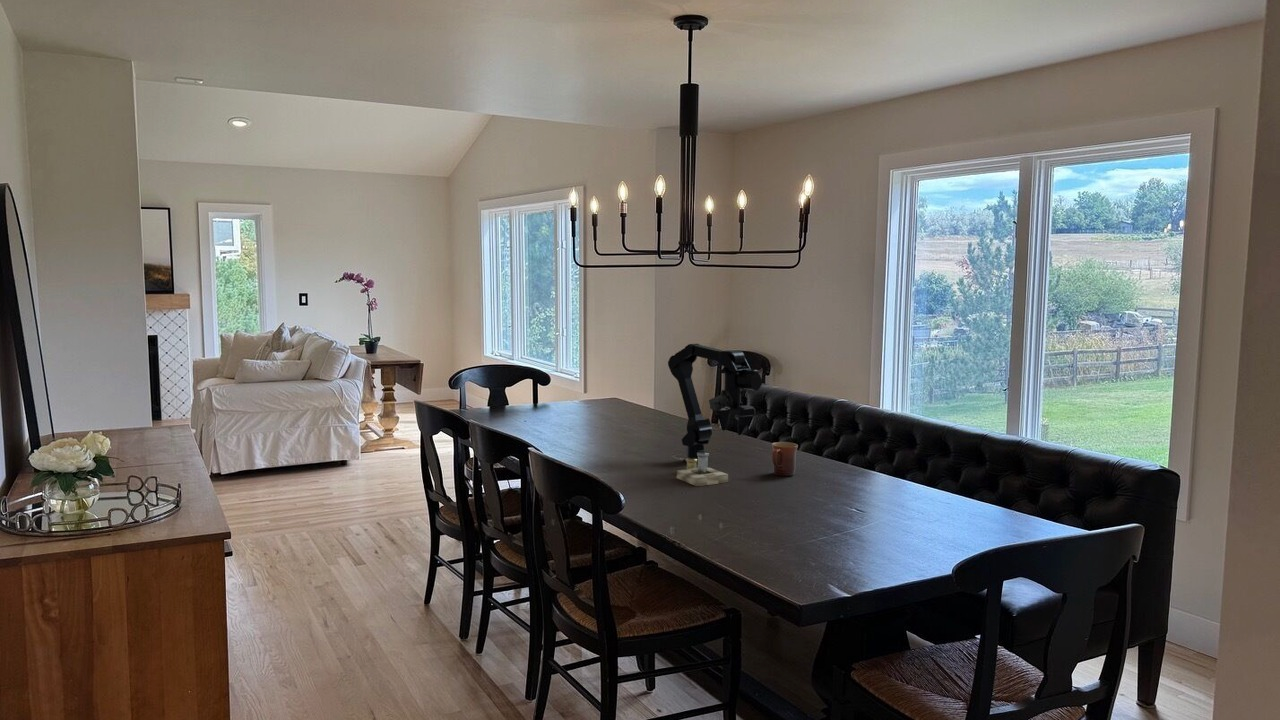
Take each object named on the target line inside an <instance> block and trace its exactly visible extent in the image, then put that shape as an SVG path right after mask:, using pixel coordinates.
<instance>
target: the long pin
mask: <svg viewBox="0 0 1280 720" xmlns="http://www.w3.org/2000/svg"><path fill="white" fill-rule="evenodd" d="M697 456H698V463H697V468H698V473H699V474H707V470H708V464H709V462H708V461H709V456H710V453H709V452H706V451H704V452H697Z"/></svg>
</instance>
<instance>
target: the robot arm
mask: <svg viewBox="0 0 1280 720" xmlns="http://www.w3.org/2000/svg"><path fill="white" fill-rule="evenodd" d="M698 357H699V358H701V359H702V358H703V359H706V360H710V361H713V362H716V363H718V364H719V365H721V367H723V368H722V369H720V370H719V374H724V386H723V389H721V391H720V394H719V395H717V396H715V397H713V398H711V399H709V400H708V403H709V408H710V410H712V412H714V413H715V414H716V415H717V417H718V420H719V424H720V428H721V430H722V431H726V429H727V427H728V426H727V425H728V423H729V422H728V421H729V416H730V413H731V411H733V412H734V415H733V417H734V418H735V419H736V427H737V428H736V429H737V435H738V436H741V435H742V434H743V432H744V430H745V428H746V427H747V424H748V422H749V421H750V419H751V418H753V416H755V415H756V408H755V407H754V406H752V405H747V404H746V405H744V402H742V394H743V395H744V394H745V393H744V392H745V391H744V390H750V391H755V392H756V391H758V390H760V389H761V386H762V383H763V380H762V377H761V375H760V374H759V370H758V369H752V368H751V366H750V365H749V363H748V361H747V359H746V356H745V354H744V352H743V351H742V350H738V349H734V350H733V349H729V350H728V349H720V348H714V347H710V346H707V345H702V344H699V343H689V344H687V345H685V346H684V348H683V349H681V350H679V351H678V352H676V353H675V354H674V355H671V356H670V357H669V359H668V361H667V366H668V368H669V370H670V373H671V375H672V376H673V377H674V378H675V379H676V380H677V382H678V385H679V389H680V393H681V397H682V400H683V404H684V407H685V411H686V414H687V418H688V420H687V423H686V432H687V433H686V434H685V435H684V436H683V437H682V438H681V442H682V446H686V458H697V462H696V464H698V456H697V452H705V445H708V444H709V442H710V440H711V436H712V434H713V427H712V424H711V420H710V418H709V417H708V418H705V417H704V416H703V414H702V410H701V407H700V403H699V400H698V397H697V393H696V389H695V387H694V386H695V385H694V384H693V378H692V374H693V370H694V368H693V364H694V363H695V362H696V361H697V359H698ZM742 389H743V390H742ZM686 458H682V460H683V462H686Z"/></svg>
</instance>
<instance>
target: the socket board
mask: <svg viewBox="0 0 1280 720" xmlns="http://www.w3.org/2000/svg"><path fill="white" fill-rule="evenodd" d="M676 479H677V480H680V481H683V482H686V483H688V484H690V485H693V486H695V487H703V486H707V485H708V486H711V485H718V484H725V483H726V484H727V483H728V482H729V473H725V472H723V471H720V470H717V469H714V468H712V467H708V470H707V474H699V473H698V467H696V468H693V469H687V468H685V469H677V470H676Z"/></svg>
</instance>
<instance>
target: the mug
mask: <svg viewBox="0 0 1280 720" xmlns="http://www.w3.org/2000/svg"><path fill="white" fill-rule="evenodd" d="M771 447H772V454H771V460H772V468H773V469H772V471H773V474H774V475H775V476H778V477H792V476H793V475H794V474H795V471H796V455H797V450H798V447H799V445H798V444H797V443H794V442H788V441H779V442H777V441H776V442H772V443H771Z"/></svg>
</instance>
